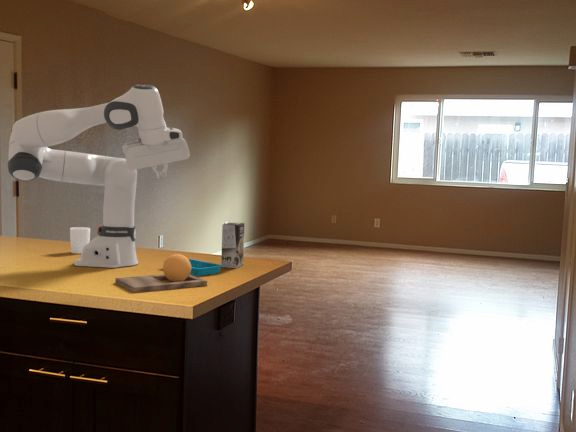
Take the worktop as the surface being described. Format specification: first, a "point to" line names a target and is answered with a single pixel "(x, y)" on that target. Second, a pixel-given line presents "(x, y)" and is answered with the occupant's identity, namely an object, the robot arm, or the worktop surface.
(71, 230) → the white cup
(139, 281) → the walnut board
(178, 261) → the ball
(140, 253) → the worktop surface
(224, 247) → the coffee box
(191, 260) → the ice cube tray
